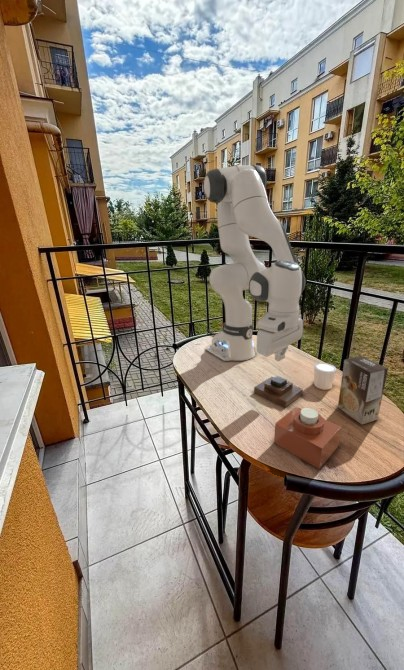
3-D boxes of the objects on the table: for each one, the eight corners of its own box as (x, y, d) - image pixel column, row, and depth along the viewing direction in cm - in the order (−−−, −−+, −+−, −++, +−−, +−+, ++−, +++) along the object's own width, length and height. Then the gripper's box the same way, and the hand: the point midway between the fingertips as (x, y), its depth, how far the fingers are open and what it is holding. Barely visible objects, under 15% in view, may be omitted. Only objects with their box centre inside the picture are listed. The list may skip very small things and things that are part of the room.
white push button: (296, 419, 68) (297, 412, 67) (305, 412, 71) (305, 405, 70) (312, 427, 65) (313, 420, 65) (320, 419, 68) (321, 412, 67)
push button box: (273, 442, 72) (275, 416, 69) (294, 424, 78) (296, 400, 75) (319, 469, 63) (323, 441, 61) (338, 446, 70) (342, 420, 67)
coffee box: (379, 419, 78) (390, 368, 73) (361, 425, 76) (371, 373, 71) (352, 402, 87) (361, 355, 81) (336, 406, 85) (343, 359, 79)
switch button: (270, 384, 91) (270, 379, 91) (276, 380, 94) (277, 375, 93) (280, 388, 89) (280, 383, 88) (286, 384, 91) (286, 379, 91)
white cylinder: (335, 391, 92) (338, 372, 90) (313, 389, 94) (316, 371, 91) (331, 380, 99) (333, 363, 96) (310, 379, 100) (312, 362, 98)
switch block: (254, 392, 94) (254, 382, 92) (271, 381, 100) (271, 371, 98) (285, 407, 85) (286, 396, 84) (302, 394, 91) (303, 383, 90)
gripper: (292, 308, 92) (288, 346, 97) (253, 323, 79) (251, 367, 84) (310, 312, 88) (305, 352, 93) (272, 329, 75) (269, 374, 80)
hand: (279, 359), depth 88 cm, fingers closed
